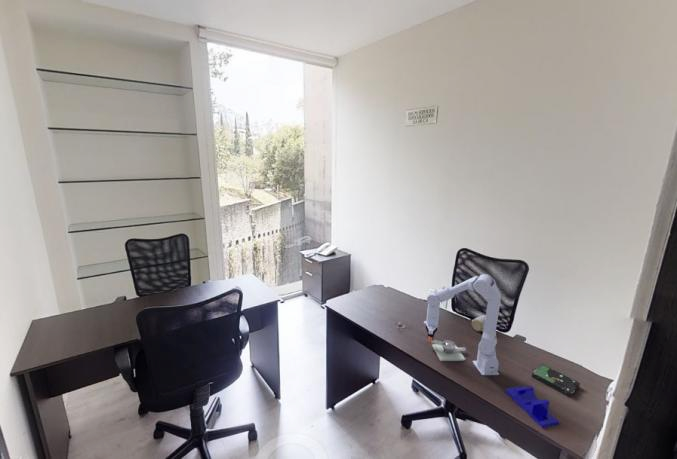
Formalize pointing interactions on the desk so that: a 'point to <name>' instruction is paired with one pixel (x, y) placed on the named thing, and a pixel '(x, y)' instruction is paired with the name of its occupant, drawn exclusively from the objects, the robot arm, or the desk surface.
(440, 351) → the base
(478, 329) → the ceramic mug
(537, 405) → the mounting bracket
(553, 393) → the desk surface
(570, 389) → the disk drive
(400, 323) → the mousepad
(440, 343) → the key lever
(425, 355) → the desk surface
